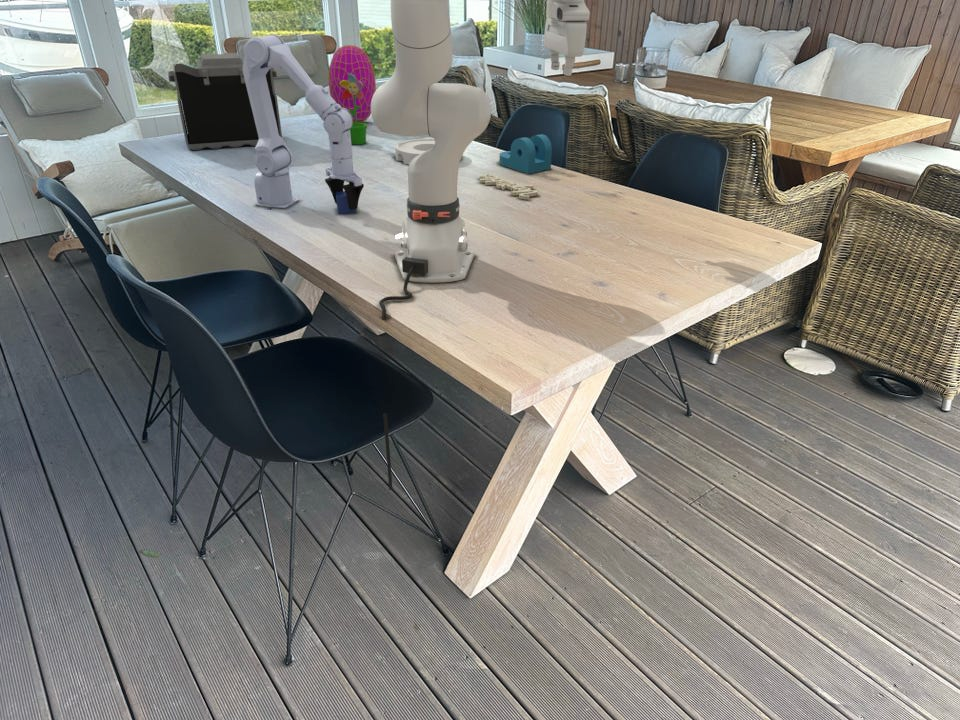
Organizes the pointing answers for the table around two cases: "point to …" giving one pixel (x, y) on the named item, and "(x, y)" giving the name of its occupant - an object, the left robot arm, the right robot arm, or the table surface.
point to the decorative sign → (509, 186)
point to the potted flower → (354, 89)
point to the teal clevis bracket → (528, 154)
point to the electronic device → (218, 102)
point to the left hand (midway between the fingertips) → (346, 206)
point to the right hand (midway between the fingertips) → (561, 72)
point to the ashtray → (412, 149)
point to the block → (343, 203)
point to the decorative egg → (361, 68)
